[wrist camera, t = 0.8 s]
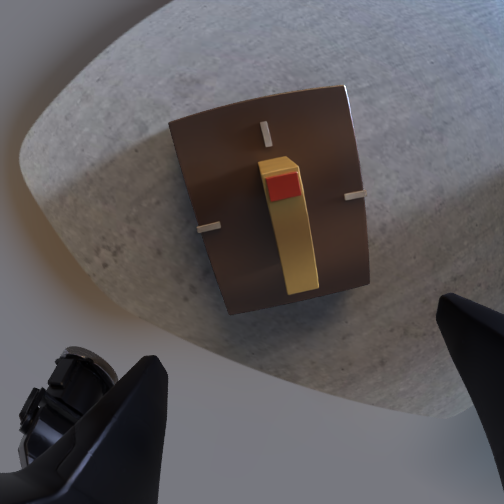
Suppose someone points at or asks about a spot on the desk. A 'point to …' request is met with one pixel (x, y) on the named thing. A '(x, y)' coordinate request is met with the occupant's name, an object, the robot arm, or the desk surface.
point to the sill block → (254, 200)
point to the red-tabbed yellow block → (290, 223)
